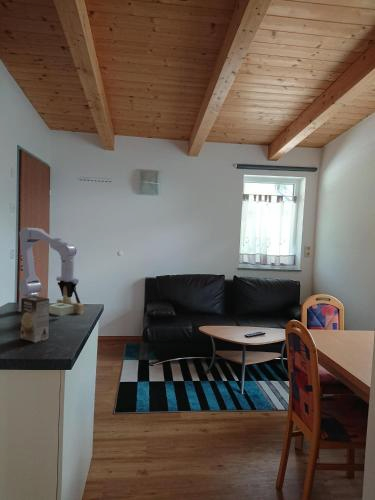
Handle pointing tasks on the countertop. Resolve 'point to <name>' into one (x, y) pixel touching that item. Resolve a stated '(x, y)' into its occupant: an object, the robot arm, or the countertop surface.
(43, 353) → the countertop surface
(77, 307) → the oak wall
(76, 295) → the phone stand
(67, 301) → the dowel
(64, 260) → the robot arm
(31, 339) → the coffee box
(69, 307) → the socket block
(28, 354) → the countertop surface
